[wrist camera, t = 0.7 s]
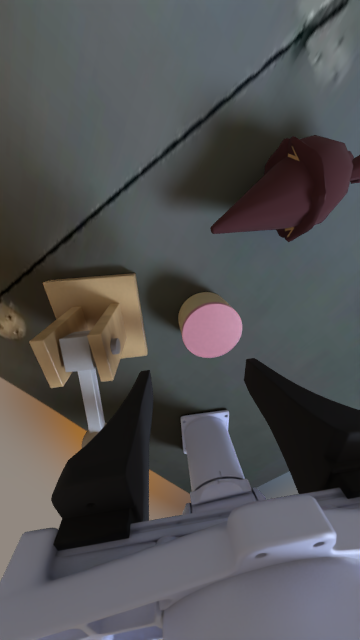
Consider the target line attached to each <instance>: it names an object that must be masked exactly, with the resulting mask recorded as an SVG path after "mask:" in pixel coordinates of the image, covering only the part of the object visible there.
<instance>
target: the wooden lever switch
mask: <svg viewBox="0 0 360 640" xmlns="http://www.w3.org/2000/svg"><path fill="white" fill-rule="evenodd" d="M43 285H44V288H45V291H46V293H47V296H48V299H49V301H50V304H51V307H52V309H53V312H54V314H55V317H56V320H55V321H54V322H53V323H52V324H50V325H49V326H48V327H47V328H45V329H44V330H43V331H42V332H41V333H39V334H38V335H37V336H36V337H34V338H33V339H32V340H31V341H29V343H30V345H31V347H32V349H33V351H34V354H35V356H36V358H37V360H38V362H39V364H40V366H41V368H42V370H43V373H44V375H45V377H46V379H47V381H48V383H49V385H50V387H51V388H55V387H63V386H64V384H65V383H66V381H67V380H68V378H69V377H70V375H71V374H72V372H66V371H65V366H64V361H63V357H62V352H61V347H60V342H59V339H60V338H62V337H65V336H67V335H69V334H71V333H73V332H80V331H90V330H91V331H90V332H89V334H88V335H87V338H88V341H89V344H90V347H91V350H92V354H93V357H94V360H95V363H96V366H97V369H98V373H99V376H100V379H101V382H104V381H112V380H113V379H114V376H115V373H116V370H117V367H118V364H119V361H120V358H129V357H138V356H147V352H148V349H147V343H146V337H145V331H144V324H143V318H142V312H141V306H140V300H139V293H138V287H137V281H136V275H135V273H131V274H119V275H106V276H94V277H81V278H69V279H57V280H48V281H45V282H43Z"/></svg>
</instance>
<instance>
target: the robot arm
mask: <svg viewBox="0 0 360 640" xmlns="http://www.w3.org/2000/svg"><path fill="white" fill-rule="evenodd" d="M244 381H245V384H246V386H247V388H248V391H249V393H250V395H251V396H252V398H253V400H254V401H255V403H256V405H257V406H258V408H259V410H260V411H261V413H262V415H263V416H264V418H265V420H266V421H267V423H268V425H269V427H270V429H271V431H272V433H273V435H274V437H275V439H276V441H277V443H278V446H279V448H280V450H281V452H282V454H283V457H284V459H285V461H286V464H287V466H288V468H289V471H290V473H291V475H292V478H293V480H294V483H295V485H296V488H297V490H298V493H299V494H296V495H290V496H284V497H279V498H273V499H267V500H266V498H265V496H264V495H263V494H262V493H261V492H260V491H259V490H258V489H257V488H252V489H251V486H250V484H249V481H248V479H245V478H244V475H243V472H242V470H241V467H240V464H239V461H238V458H237V456H236V453H235V450H234V447H233V444H232V442H231V439H230V436H229V433H228V422H229V411H228V410H222V411H215V412H208V413H200V414H193V415H186V416H182V417H181V429H182V441H183V452H184V453H187V458H188V466H189V473H190V481H191V489H192V492H190V497H191V503H187V504H186V506H185V509H184V511H183V515H179V516H173V517H167V518H161V519H155V520H150V521H149V441H150V430H151V421H152V412H153V388H152V382H151V375H150V370H147V371H141V372H140V373H139V376H138V378H137V380H136V382H135V384H134V386H133V387H132V389H131V391H130V392H129V394H128V396H127V397H126V399H125V400H124V402H123V403H122V405H121V406H120V408H119V409H118V410H117V412H116V413H115V414H114V416H113V417H112V418H111V419H110V420H109V422H108V423H107V424H106V425H105V426H104V427H103V428H102V429H101V431H100V432H99V433H98V434H97V435H96V436H95V437H94V438H93V439H92V440H91V441H90V442H89V443H88V444H87V445H85V446H84V447H83V448H82V449H81V450H80V451H79V452H78V453H76V454H75V455H74V456H73V457H72V458H70V459H69V460H68V462H67V464H66V465H65V467H64V469H63V471H62V473H61V476H60V478H59V480H58V482H57V485H56V487H55V490H54V492H53V494H52V498H51V501H52V503H53V506H54V507H55V509H56V510H57V511H58V513H59V514H60V516H61V517H62V521H61V524H60V527H59V530H58V529H56V528H46V529H40V530H34V531H29V532H25V533H24V534H22V536H21V538H20V540H19V543H18V545H17V547H16V549H15V551H14V553H13V555H12V558H11V560H10V562H9V564H8V566H7V569H6V571H5V573H4V575H3V577H2V579H1V582H0V640H158V639H163V640H360V410H357V409H354V408H351V407H348V406H345V405H342V404H340V403H337V402H334V401H332V400H329V399H327V398H324V397H322V396H320V395H317V394H315V393H313V392H311V391H309V390H307V389H305V388H303V387H301V386H299V385H297V384H295V383H293V382H292V381H290V380H288V379H286V378H285V377H283V376H281V375H280V374H278V373H277V372H275V371H273V370H272V369H270V368H269V367H267V366H266V365H264V364H263V363H261V362H260V361H258V360H256V359H255V358H252V359H246V367H245V376H244Z"/></svg>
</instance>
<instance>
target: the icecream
mask: <svg viewBox="0 0 360 640" xmlns="http://www.w3.org/2000/svg"><path fill="white" fill-rule="evenodd" d="M353 158H354V156H353V155H352V153H351V152H350V151H347V148H346V146H345V143H342V142H338V141H335V140H331V139H327V138H324V137H320V136H316V135H314V136H310V137H306V138H302V139H300V140H299V139H298V138H296V137H294V136H292V137H291V138H290V139H289V138H286V139H284V140H283V141H282V142H281V144H280V146H279V148H278V149H277V150H276V151H275V152H274V153H273V155H272V156H271V157H270V158H269V159H268V161H267V163H266V166H265V171H264V176H263V177H262V178H261V179H260V180H259V181H258V182H257V183H256V184H255V185H254V186H253V187H252V188H251V189H250V190H248V191H247V192H246V193H245V194H244V195H243V196H242V197H241V198H240V199H239V200H238V201H237V202H236V203H235V204H234V205H233V206H232V207H231V208H230V209H229V210H228V211H227V212H226V213H225V214H224V215H223V216H222V217H221V218H219V219H218V220H217V221H216V222H215V223H214V224H213V225H212V226H211V232H212V233H213V234H220V233H232V232H246V231H260V230H274V229H276V230H277V232H278V234H279V236H281V237H283V238H284V237H285V239H286V240H287V241H288V242H290V241H292V240H294V239H295V238H297V237H299V236H300V235H302V234H304V233H306V232H308V231H309V230H310V229H311V228H312V227H313V226H314V225H316V224H319V223H321V222H322V221H323V220H324V219H325V218H326V217H327V216H328V215H329V213H330V212H331V211H332V210H333V209H334V208H335V207H336V205H337V204H338V203H339V202H340V201H341V200H342V198H343V197H344V196H345V195H346V193H347V192H348V187H349V183H350V182H351V184H352V183H359V182H360V155H359V156H357V157H356V158H354V159H353Z"/></svg>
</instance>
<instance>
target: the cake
mask: <svg viewBox="0 0 360 640" xmlns="http://www.w3.org/2000/svg"><path fill="white" fill-rule="evenodd" d="M178 321H179V326H180V330H181V334H182V338H183V342H184V344H185V346H186V347H187V349H188V350H189V351H190V352H192V353H193V354H195V355H197V356H200V357H204V358H213V357H218V356H221V355H223V354H225V353H227V352H228V351H230V350H231V349H232V348H233V347H234V346H235V345H236V344H237V342H238V341H239V339H240V336H241V333H242V321H241V318H240V316H239V315H238V313H237V312H236V311H235V310H234V309H233V308H232V307H231V306H230V305H229V304H228V303H227V302H226V301H225V300H224V299H223V298H221V297H220V296H219V295H217V294H214V293H211V292H202V293H198V294H195V295H193V296H191V297H190V298H188V299H187V300H186V301H185V302H184V303H183V305H182V306H181V308H180V311H179V316H178Z"/></svg>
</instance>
